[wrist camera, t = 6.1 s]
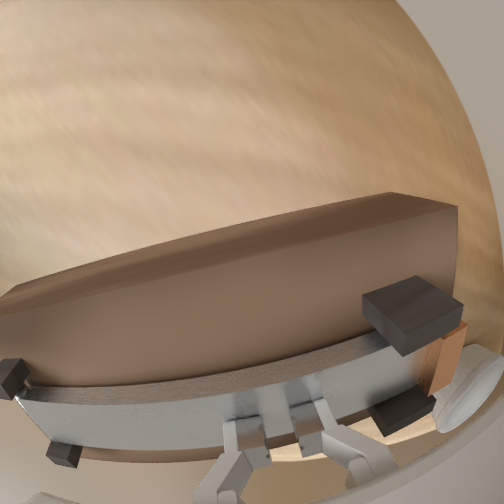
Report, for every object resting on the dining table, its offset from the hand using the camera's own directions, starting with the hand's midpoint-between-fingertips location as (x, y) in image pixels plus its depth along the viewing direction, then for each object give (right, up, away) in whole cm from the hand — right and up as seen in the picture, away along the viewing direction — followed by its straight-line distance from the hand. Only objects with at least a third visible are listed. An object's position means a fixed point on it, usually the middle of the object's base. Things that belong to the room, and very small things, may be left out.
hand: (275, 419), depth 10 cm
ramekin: (+23, -8, +14) cm, 28 cm away
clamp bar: (-3, 0, +1) cm, 3 cm away
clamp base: (-4, +2, +7) cm, 8 cm away
